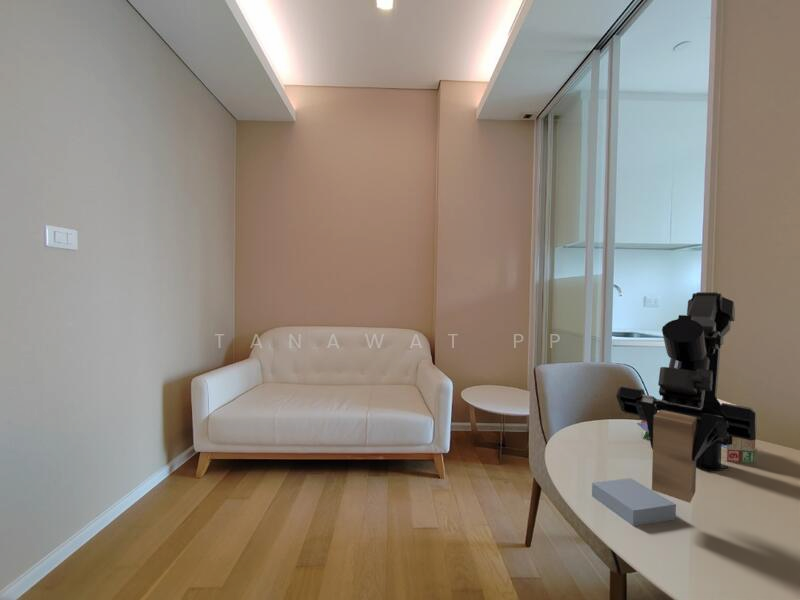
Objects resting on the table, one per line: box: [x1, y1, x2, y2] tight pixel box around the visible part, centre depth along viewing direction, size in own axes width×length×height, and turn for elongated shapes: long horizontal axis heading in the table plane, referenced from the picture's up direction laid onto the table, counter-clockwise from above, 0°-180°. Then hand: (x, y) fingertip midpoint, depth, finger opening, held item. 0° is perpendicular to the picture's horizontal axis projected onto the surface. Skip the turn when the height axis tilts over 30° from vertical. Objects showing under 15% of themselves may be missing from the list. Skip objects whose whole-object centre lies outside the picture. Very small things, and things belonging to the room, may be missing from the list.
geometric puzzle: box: [636, 419, 650, 439], centre depth 95 cm, size 7×7×8 cm
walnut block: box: [651, 410, 697, 504], centre depth 59 cm, size 5×5×12 cm
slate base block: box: [591, 477, 677, 527], centre depth 64 cm, size 9×9×3 cm
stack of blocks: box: [717, 398, 758, 464], centre depth 93 cm, size 21×6×12 cm, turn 175°
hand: (672, 453), depth 58 cm, fingers closed on walnut block, 5 cm apart
